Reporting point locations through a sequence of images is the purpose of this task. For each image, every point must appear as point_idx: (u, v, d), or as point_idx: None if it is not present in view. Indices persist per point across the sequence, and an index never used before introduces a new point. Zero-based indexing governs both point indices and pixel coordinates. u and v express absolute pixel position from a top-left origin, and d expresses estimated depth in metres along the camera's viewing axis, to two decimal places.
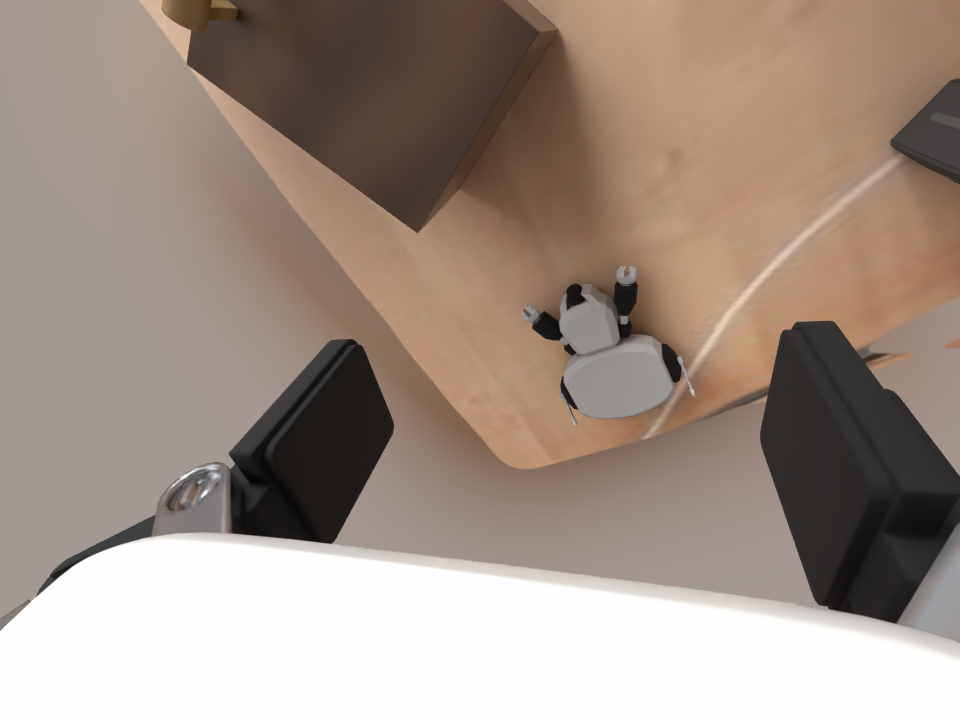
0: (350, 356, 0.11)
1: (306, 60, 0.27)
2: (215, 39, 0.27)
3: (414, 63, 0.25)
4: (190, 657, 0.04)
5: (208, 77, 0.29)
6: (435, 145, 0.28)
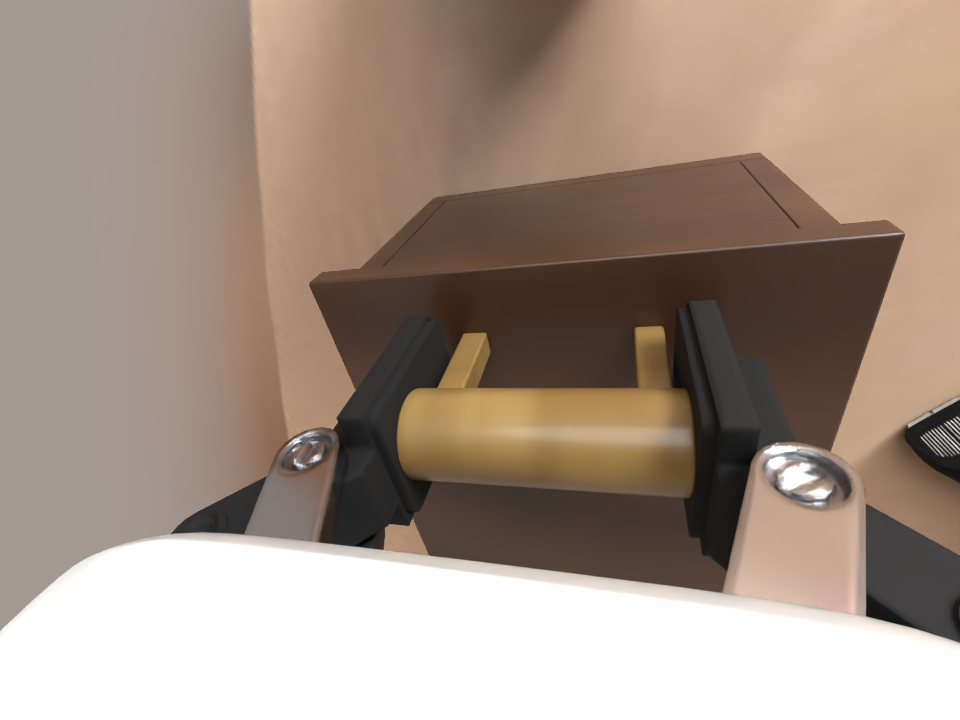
0: (430, 331, 0.11)
1: None
2: None
3: (632, 567, 0.17)
4: (190, 657, 0.04)
5: (332, 328, 0.14)
6: None
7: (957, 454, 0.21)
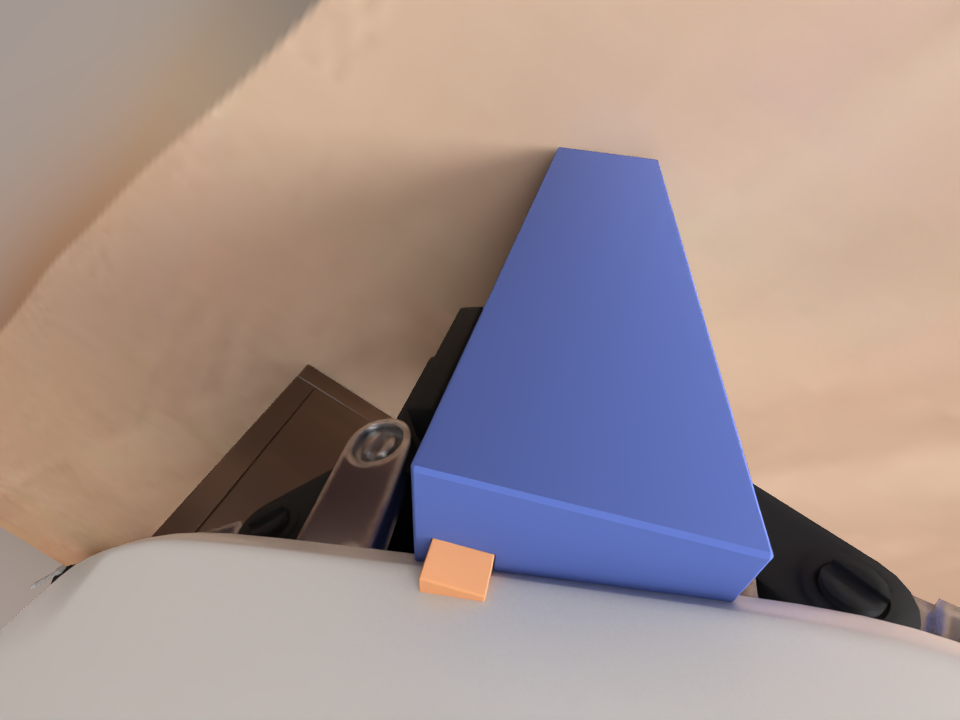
0: None
1: None
2: None
3: None
4: (190, 657, 0.04)
5: None
6: None
7: None
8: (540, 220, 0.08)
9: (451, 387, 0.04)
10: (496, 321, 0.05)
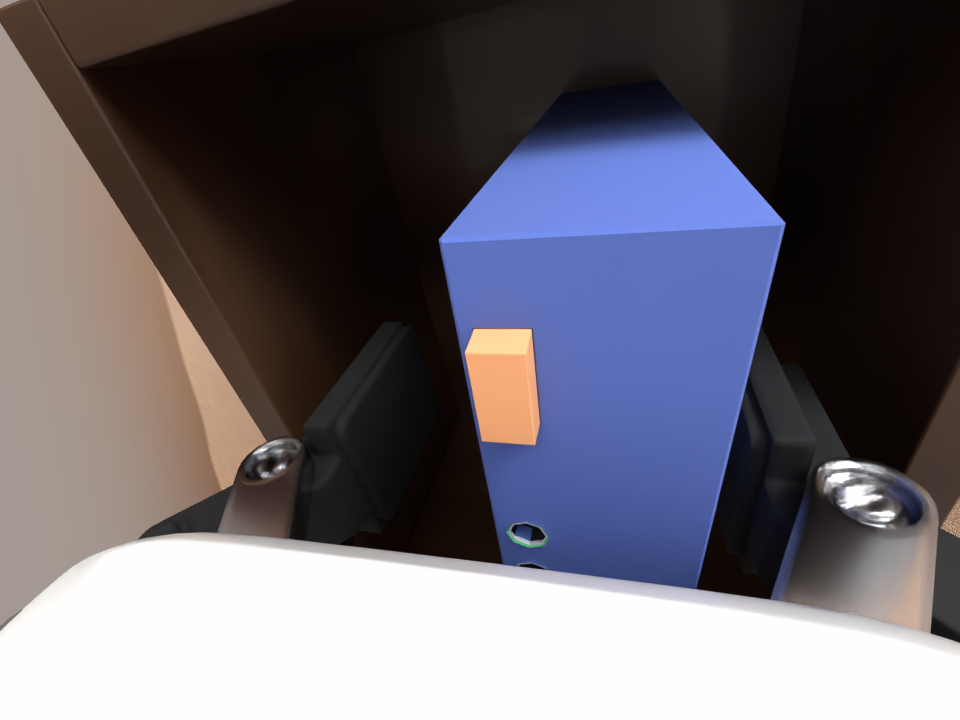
0: (404, 337, 0.11)
1: None
2: None
3: None
4: (191, 657, 0.04)
5: None
6: None
7: None
8: (546, 126, 0.08)
9: (470, 204, 0.05)
10: (508, 172, 0.06)
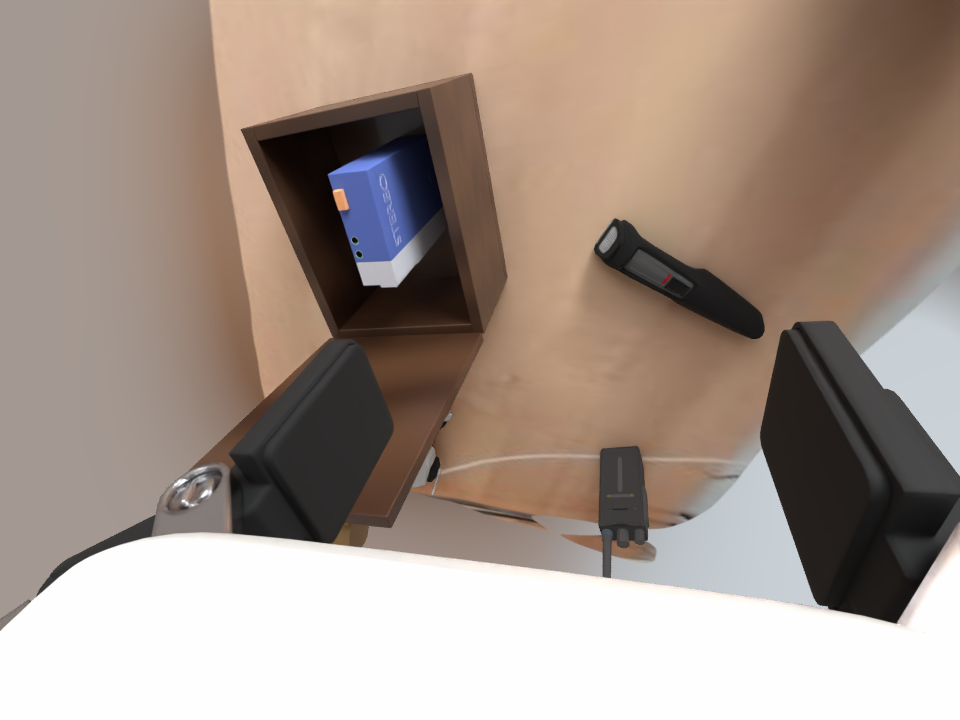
0: (350, 356, 0.11)
1: None
2: None
3: None
4: (190, 657, 0.04)
5: None
6: None
7: (608, 249, 0.37)
8: (370, 152, 0.32)
9: (335, 170, 0.28)
10: (347, 164, 0.29)
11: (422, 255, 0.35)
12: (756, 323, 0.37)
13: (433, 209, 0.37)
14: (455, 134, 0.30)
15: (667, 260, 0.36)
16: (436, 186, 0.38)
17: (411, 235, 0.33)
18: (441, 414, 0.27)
